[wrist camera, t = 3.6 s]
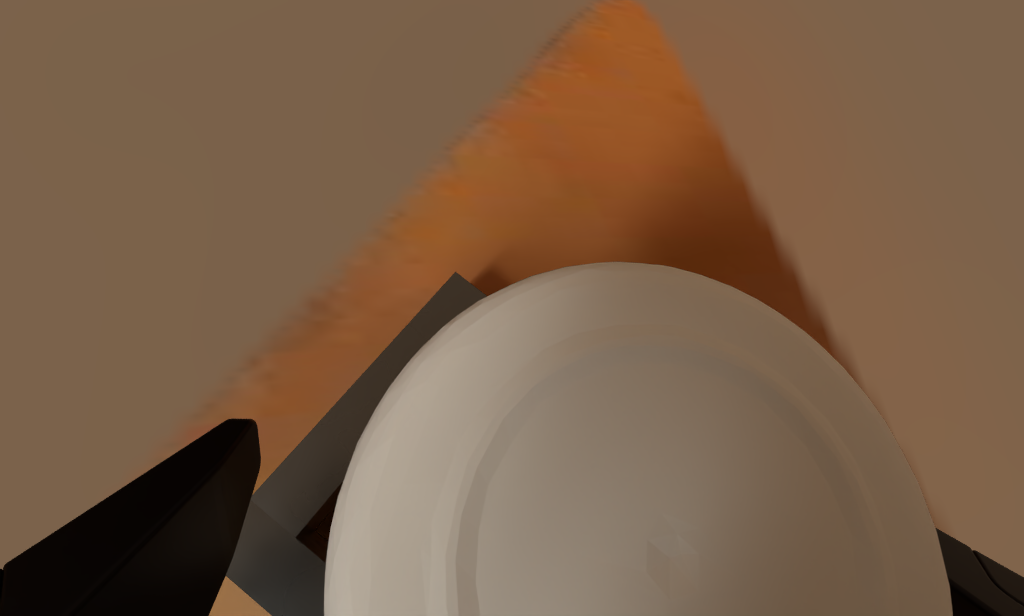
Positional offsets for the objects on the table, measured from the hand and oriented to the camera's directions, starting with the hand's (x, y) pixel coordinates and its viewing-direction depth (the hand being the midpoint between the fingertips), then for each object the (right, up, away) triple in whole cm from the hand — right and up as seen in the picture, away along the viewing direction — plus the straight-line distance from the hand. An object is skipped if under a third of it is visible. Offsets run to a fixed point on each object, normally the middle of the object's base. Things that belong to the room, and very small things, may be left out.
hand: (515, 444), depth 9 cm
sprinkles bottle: (-1, -4, +7) cm, 8 cm away
